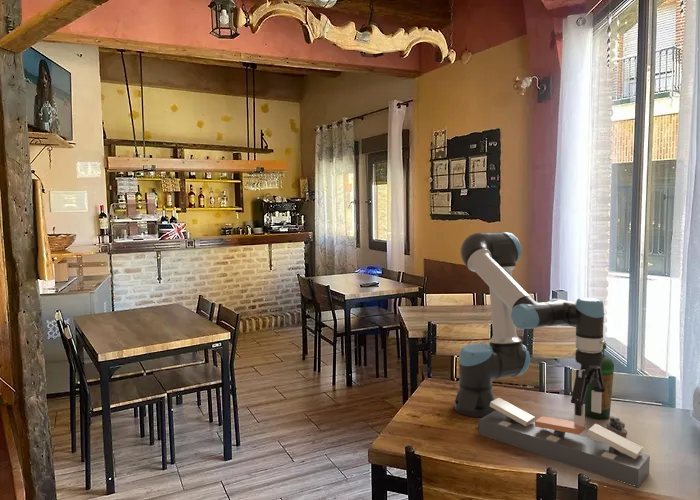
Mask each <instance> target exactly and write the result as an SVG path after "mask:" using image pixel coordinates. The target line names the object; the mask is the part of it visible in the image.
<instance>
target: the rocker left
mask: <svg viewBox="0 0 700 500" xmlns="http://www.w3.org/2000/svg"><path fill="white" fill-rule="evenodd" d="M490 407H492V408H494V409H495V410H497V412H501V413H503V414H504V415H506V416H508V417H510V418H512V419H513V420H515V421H517V422H519V423H521V424H522V425H524V426H527V425H529V424H530V423H532V422H535V418H536V417H535V415H532V414H530V413H528V412H527V411H525V410H524V409H521V408H519V407H517V406H515V404H512V403H510V402H508V401H506V400H504V399H502V398H500V397H497V398H495V400H493V401H491V402H490Z"/></svg>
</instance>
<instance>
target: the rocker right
mask: <svg viewBox="0 0 700 500" xmlns="http://www.w3.org/2000/svg"><path fill="white" fill-rule="evenodd" d="M586 435H588V436H590V437H592V438H593V439H595V440H597V441H600V442H603V443H605V444H607V445H609V446H611V447H613V448H615V449H617V450H619V451H620V452H622V453H624V454H626V455H628V456H630V457H632V458H634V459H636V458H637V457H638V456H639V455H640V454H641V453H643V449H644V447H643V446H642V445H639V444H638V443H635V442H633V441H631V440H629V439H627V438H626V439H625V438H623V437H622V436H620V435H618V434H616V433H614V432H612V431H610V430H608V429H607V427H606V428H605V427H603V426H601V425H599V424H598V423H594V424H593V425H592V426H591V427H590V428H588V430H587V433H586Z"/></svg>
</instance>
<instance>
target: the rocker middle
mask: <svg viewBox="0 0 700 500" xmlns="http://www.w3.org/2000/svg"><path fill="white" fill-rule="evenodd" d="M534 422H535V427H541V428H546V429H551V430H556V431H561V432H567V433H572V434H576V435H580V434H581V433H582V432H583V431H585V430H586V424H585V425H584V427H582V426H578V425H574V421H573V420H566V419H561V418H555V417H550V416H543V415H542V416H541V417H539V418H538V419H536V420H534Z"/></svg>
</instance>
